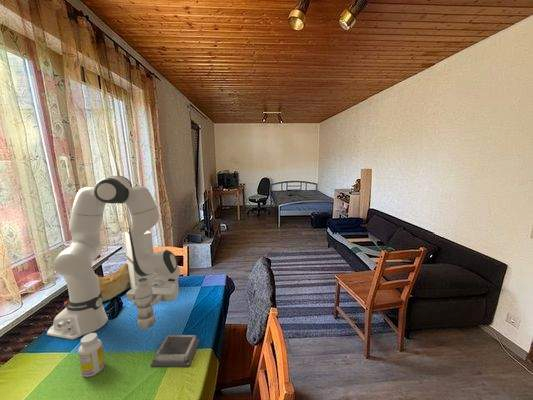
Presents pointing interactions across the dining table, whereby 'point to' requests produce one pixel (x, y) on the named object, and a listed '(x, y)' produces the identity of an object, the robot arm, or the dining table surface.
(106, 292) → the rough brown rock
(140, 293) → the silver bottle
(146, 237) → the beige notched post
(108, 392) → the dining table surface
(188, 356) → the grey square tray
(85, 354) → the supplement bottle
